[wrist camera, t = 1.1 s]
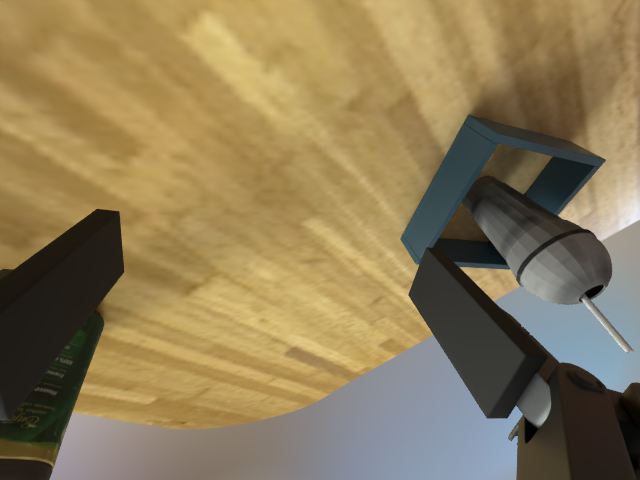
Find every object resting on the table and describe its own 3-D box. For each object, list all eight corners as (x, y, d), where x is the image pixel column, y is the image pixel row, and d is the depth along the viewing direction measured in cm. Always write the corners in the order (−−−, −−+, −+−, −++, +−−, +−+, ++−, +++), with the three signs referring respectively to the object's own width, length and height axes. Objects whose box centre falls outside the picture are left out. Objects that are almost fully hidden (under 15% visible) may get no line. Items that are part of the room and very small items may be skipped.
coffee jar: (33, 287, 32) (-109, 524, 19) (116, 310, 37) (50, 514, 23) (1, 337, 36) (-139, 568, 22) (81, 353, 40) (5, 553, 27)
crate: (468, 114, 30) (497, 133, 27) (570, 141, 35) (606, 160, 32) (399, 239, 39) (415, 264, 36) (489, 246, 44) (510, 269, 41)
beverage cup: (522, 174, 37) (719, 314, 22) (481, 223, 41) (625, 369, 26) (479, 157, 34) (673, 306, 19) (439, 211, 38) (575, 369, 23)
